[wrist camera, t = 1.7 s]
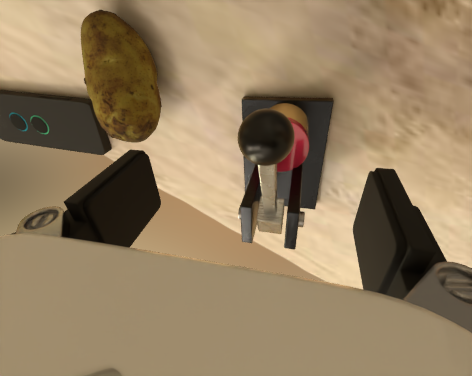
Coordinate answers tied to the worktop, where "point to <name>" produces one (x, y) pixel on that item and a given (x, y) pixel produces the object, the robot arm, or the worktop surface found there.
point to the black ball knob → (267, 160)
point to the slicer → (294, 181)
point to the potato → (120, 77)
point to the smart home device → (51, 122)
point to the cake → (301, 136)
